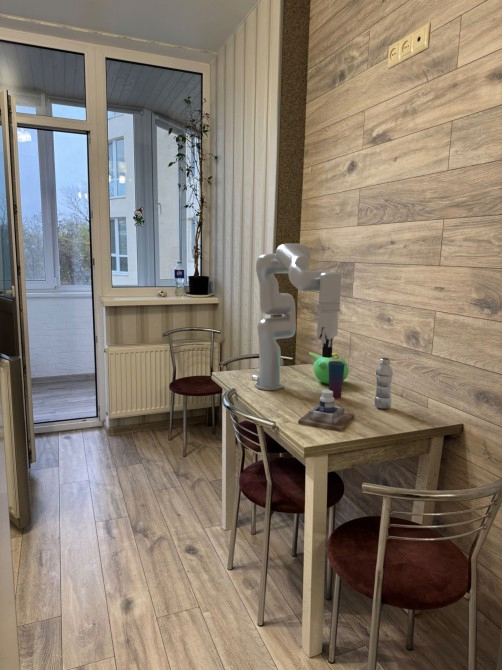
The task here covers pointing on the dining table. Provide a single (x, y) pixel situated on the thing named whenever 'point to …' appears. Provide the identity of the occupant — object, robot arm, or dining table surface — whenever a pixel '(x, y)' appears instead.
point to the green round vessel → (326, 366)
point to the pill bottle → (327, 402)
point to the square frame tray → (327, 418)
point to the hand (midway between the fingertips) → (327, 357)
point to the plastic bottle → (383, 384)
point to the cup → (336, 377)
